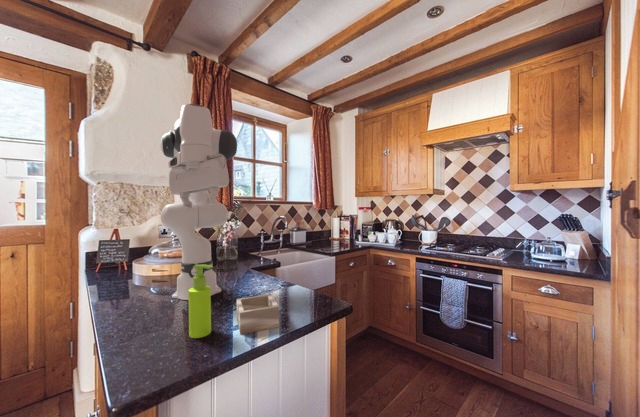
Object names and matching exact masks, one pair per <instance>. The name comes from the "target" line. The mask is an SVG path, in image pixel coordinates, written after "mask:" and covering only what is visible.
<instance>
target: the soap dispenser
mask: <svg viewBox="0 0 640 417" xmlns="http://www.w3.org/2000/svg"><path fill="white" fill-rule="evenodd" d="M213 267H214V266H213V265H212V266H211V265H206V264H201V265H195V266H193V268H196V276H194V277H193V288H190V289H189V290H188V297H189V300H188V337H189V338H191V339H200V338H204V337H207V336H208V335H209V336H210V334H211V333H212V297H211V287H210V286H206V276H205V275H203V268H206V269H210V268H212V269H213Z"/></svg>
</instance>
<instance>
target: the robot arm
mask: <svg viewBox="0 0 640 417" xmlns="http://www.w3.org/2000/svg"><path fill="white" fill-rule="evenodd" d="M180 109H181V110H180V116H179V118H178V119H177V120H176V121H175V122H174V126H173V131H172V130H171V129H170V130H169V132H166V133H164V134H163V135H162V136H161V139H160V144H159V146H160V150H161V151H162V153H163V155H164V156H165V157H167V158H171V159H169V161H168V168H170V170H169V175H168V183H169V184H168V185H169V187H168V188H169V191H170V193H171V194H172V195H176V196H179V198H180V200H181V202H173V203H168V204H166V205H164V206H163V207H162V208H161V209H162V210H161V212H160V216H159V217H160V221H161V223H162V225H163V226H164V227H165V228H166V229H168V230H170V231H171V232H173V233H174V234H175V235H176V237H177V238H178V240H179V243H180V246H181V259H182V261H181V263H180V271H181V273H180V274H179V275H178V276H177V278H176V291H175V292H173V294H172V295H171V298H172V299H178V300H183V301H189V297H188V290H189V289H190V288H193V277H194V276H196V268H193V266H195V265H201V264H206V265H211V266H213V260H212V244H211V241H210V239H208V238H206V237H203V236H201V235H199V234H197V233H196V229H206V228H207V229H209V228H210V229H211V228H212V229H213V228H217V227H220V226H224V225H225V224H226V222H227V221H228V218H229V212H228V208H227V206H225V205H224V204H223V203H221V202H220V201H218V200H216V199H217V197H218V194H219V191H220V189H221V188H226V187H229V186H228V185H229V184H230V177H229V169H228V166H227V162H228V161H230V160H231V159H233V158H234V157H235V156H236V154H237V152H238V142H237V141H238V140H237V138H236V136H235V135H234V133H232V131H230V130H229V129H228V130H227V129H216V128H214V126H213V120H212V119H213V118H212V114H211V111H210V109H209V107H208V108H207V107H206V106H204V105H201V104H195V103H186V104H183V105H182V106H181V108H180ZM203 275H205V276H206V286H210V287H211V296H214V295H216V294H219V293H221V292H222V288H221V287H220V286H219V285H218V284H217V282H218V281H217V273H216V272H215V271H214V270H213V267H212V268H210V269H206V268H203Z"/></svg>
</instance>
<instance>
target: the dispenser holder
mask: <svg viewBox="0 0 640 417" xmlns="http://www.w3.org/2000/svg"><path fill="white" fill-rule="evenodd" d="M235 302H236V320H237V325H238V330H239V335H245V334H249V333H250V334H251V333H254V332H255V333H256V332H259V331H265V330H270V329H277V328H280V306H279V304H278V303H277V301H276V300H275V298H274V297H273V296H272V294H271V293H269V294H264V295H263V294H262V295H256V296H249V297H242V298H240V297H239V298H236V301H235Z"/></svg>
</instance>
